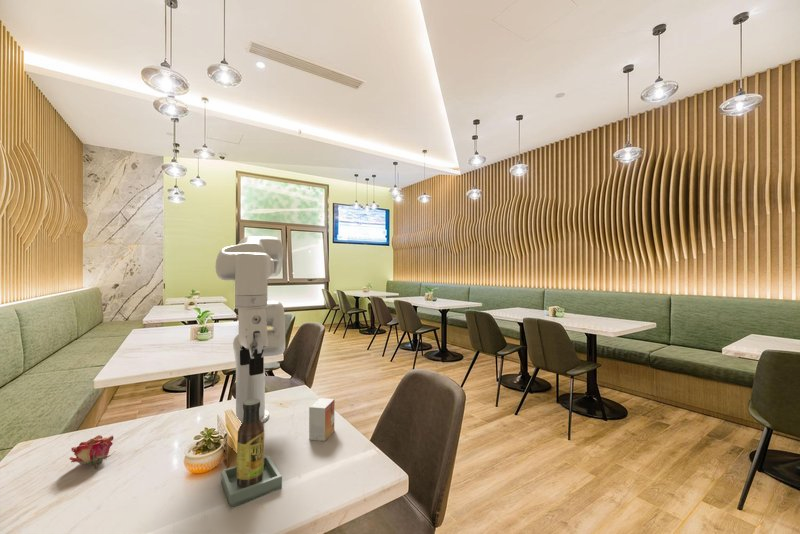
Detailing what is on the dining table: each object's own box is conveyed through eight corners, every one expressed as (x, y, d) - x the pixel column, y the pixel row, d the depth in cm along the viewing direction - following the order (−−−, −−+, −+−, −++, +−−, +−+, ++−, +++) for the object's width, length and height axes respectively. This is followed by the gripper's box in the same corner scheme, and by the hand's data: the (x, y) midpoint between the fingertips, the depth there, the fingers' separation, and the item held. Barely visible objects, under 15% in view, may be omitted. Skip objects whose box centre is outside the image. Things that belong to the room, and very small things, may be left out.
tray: (221, 482, 85) (221, 470, 85) (268, 466, 92) (268, 455, 92) (230, 508, 76) (230, 495, 76) (281, 488, 83) (281, 476, 83)
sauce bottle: (253, 490, 81) (253, 408, 81) (230, 487, 82) (231, 406, 82) (268, 474, 87) (269, 398, 87) (247, 471, 88) (247, 396, 89)
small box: (325, 442, 105) (325, 408, 105) (308, 440, 106) (308, 407, 106) (334, 429, 113) (335, 398, 113) (319, 428, 114) (319, 397, 114)
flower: (123, 456, 94) (120, 428, 97) (82, 467, 86) (80, 436, 89) (103, 470, 96) (100, 442, 99) (61, 482, 88) (60, 451, 91)
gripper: (277, 304, 80) (277, 375, 80) (257, 297, 93) (257, 358, 94) (243, 306, 75) (243, 382, 75) (228, 299, 89) (228, 363, 89)
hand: (251, 369), depth 84 cm, fingers open, 9 cm apart
